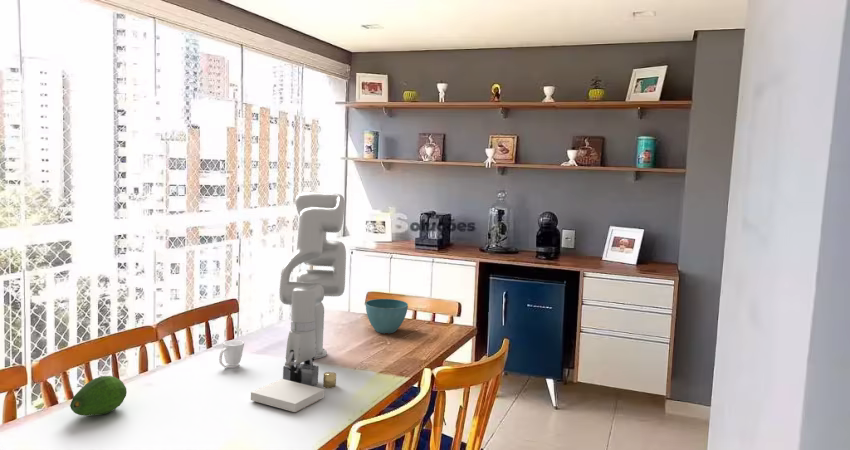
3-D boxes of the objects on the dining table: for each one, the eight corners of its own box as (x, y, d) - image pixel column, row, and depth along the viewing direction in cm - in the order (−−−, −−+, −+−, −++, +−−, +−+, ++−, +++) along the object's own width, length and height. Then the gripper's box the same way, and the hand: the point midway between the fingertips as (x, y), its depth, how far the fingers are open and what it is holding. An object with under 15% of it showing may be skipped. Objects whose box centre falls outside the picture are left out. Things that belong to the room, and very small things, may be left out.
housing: (282, 383, 197) (283, 366, 196) (289, 378, 202) (290, 362, 201) (311, 387, 195) (312, 370, 194) (318, 382, 199) (318, 365, 199)
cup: (248, 364, 213) (248, 341, 213) (228, 372, 204) (228, 349, 203) (231, 361, 216) (232, 338, 215) (211, 369, 207) (212, 345, 206)
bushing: (320, 386, 196) (321, 374, 196) (327, 383, 200) (328, 371, 199) (331, 389, 194) (331, 376, 194) (338, 385, 198) (338, 373, 198)
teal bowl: (405, 338, 258) (407, 309, 257) (362, 335, 258) (363, 306, 257) (407, 327, 276) (408, 300, 275) (366, 324, 276) (368, 297, 275)
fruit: (85, 428, 157) (85, 390, 156) (59, 420, 161) (59, 383, 160) (134, 408, 171) (135, 373, 170) (109, 401, 175) (109, 367, 174)
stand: (250, 402, 180) (250, 392, 180) (281, 388, 193) (282, 378, 193) (294, 414, 173) (295, 403, 173) (323, 398, 186) (324, 389, 186)
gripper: (309, 319, 206) (307, 371, 207) (275, 329, 190) (273, 386, 192) (328, 322, 203) (326, 376, 204) (295, 333, 187) (293, 391, 189)
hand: (300, 380), depth 198 cm, fingers closed on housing, 5 cm apart
